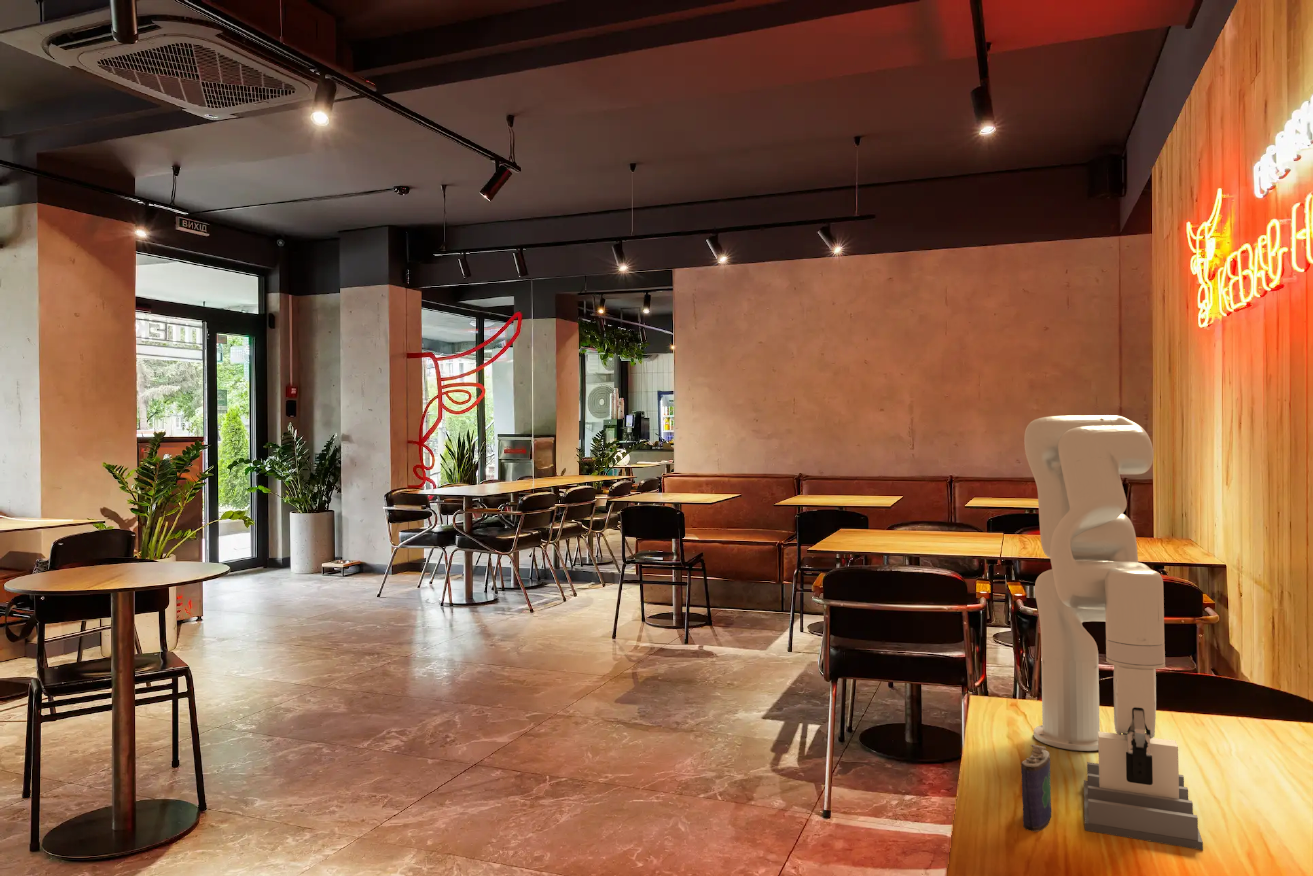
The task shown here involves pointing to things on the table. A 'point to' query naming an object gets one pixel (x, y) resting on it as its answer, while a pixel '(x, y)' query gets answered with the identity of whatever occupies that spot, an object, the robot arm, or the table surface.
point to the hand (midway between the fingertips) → (1137, 771)
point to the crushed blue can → (1036, 789)
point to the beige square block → (1115, 766)
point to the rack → (1140, 814)
